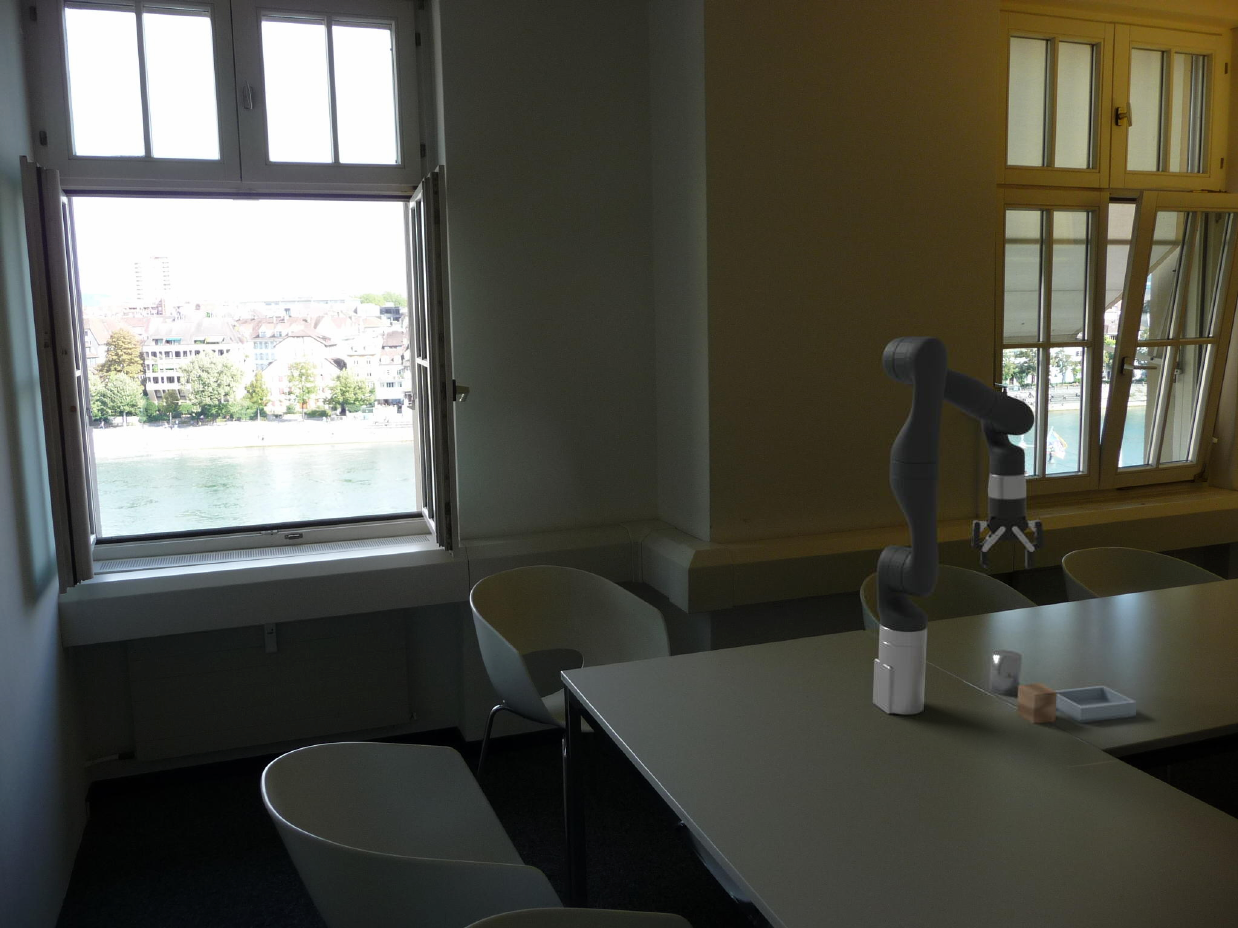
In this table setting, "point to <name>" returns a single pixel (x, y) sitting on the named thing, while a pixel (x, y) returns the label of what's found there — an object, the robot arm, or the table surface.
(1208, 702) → the table surface
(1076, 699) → the slate tray
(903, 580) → the robot arm
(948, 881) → the table surface
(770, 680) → the table surface
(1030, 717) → the walnut block
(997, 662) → the grey can
